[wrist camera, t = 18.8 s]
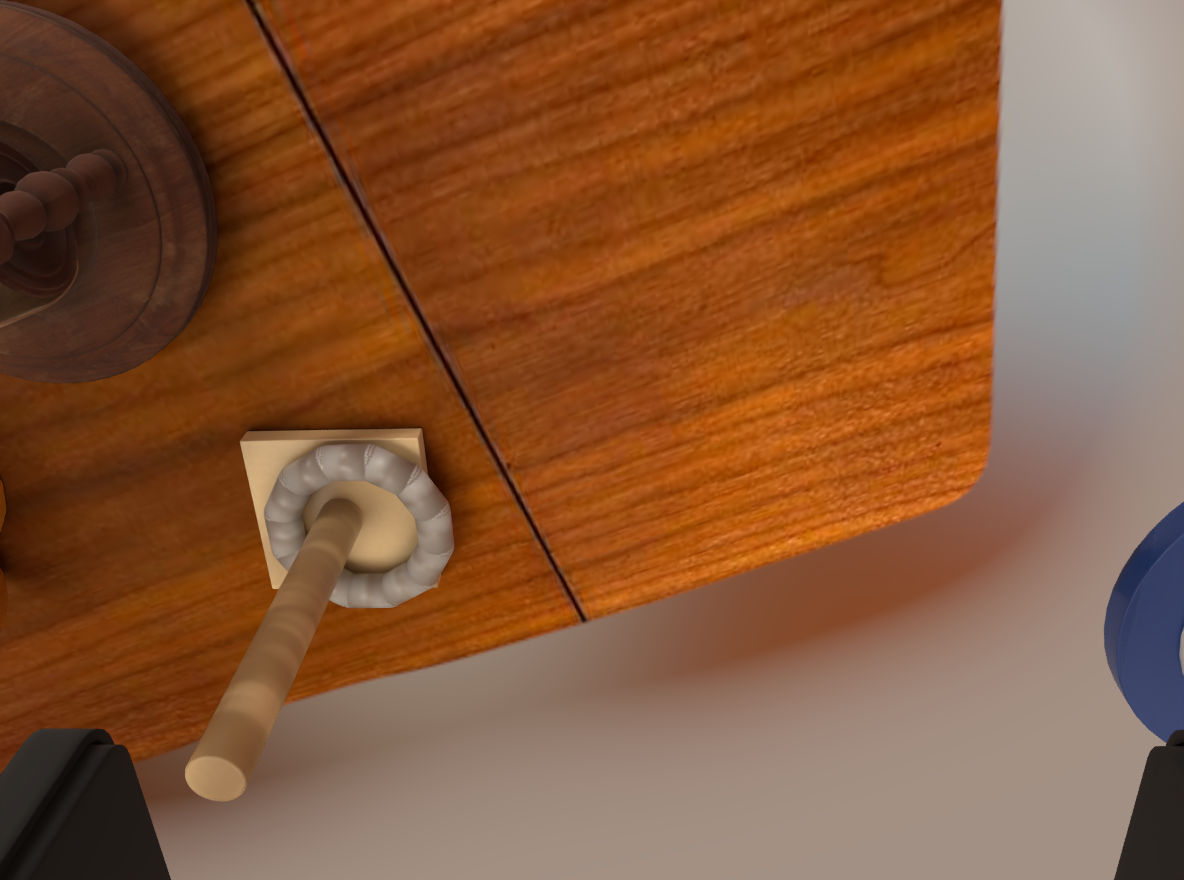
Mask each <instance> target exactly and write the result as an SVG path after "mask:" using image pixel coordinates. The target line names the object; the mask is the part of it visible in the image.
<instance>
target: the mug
mask: <svg viewBox="0 0 1184 880" xmlns="http://www.w3.org/2000/svg"><path fill="white" fill-rule="evenodd" d="M6 510H7V508H6V501H5V495H4V488H3V483H2V481H1V479H0V532H1V530H2V526H3V522H4V518H5V514H6ZM6 610H7V588H6V583H5V578H4V574H3V572H2V570H1V568H0V632H1V629H2V625H3V622H4V618H5V615H6Z"/></svg>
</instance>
